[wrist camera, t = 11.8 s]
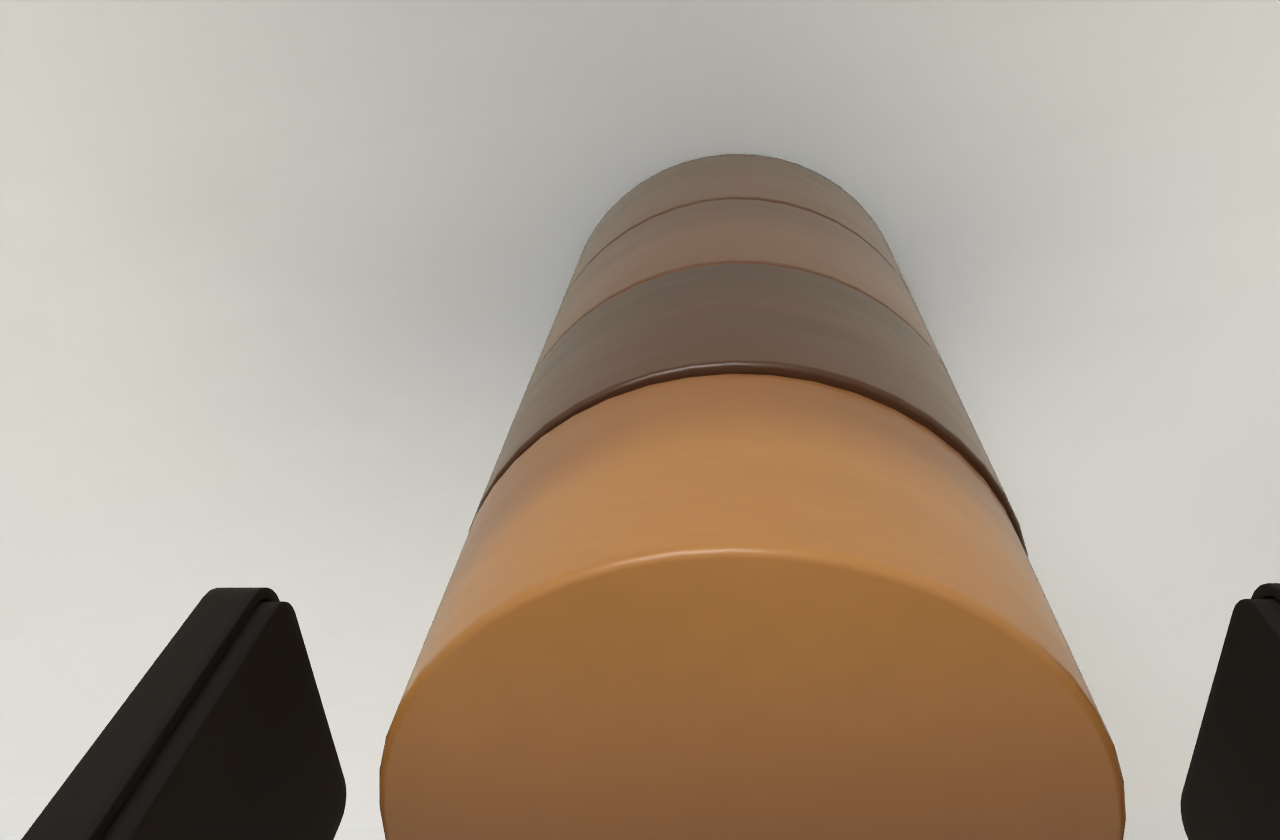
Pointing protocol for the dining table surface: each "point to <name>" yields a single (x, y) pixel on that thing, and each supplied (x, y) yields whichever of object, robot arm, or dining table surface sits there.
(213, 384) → the dining table surface
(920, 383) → the walnut chip
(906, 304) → the walnut chip
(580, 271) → the walnut chip
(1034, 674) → the oak chip
